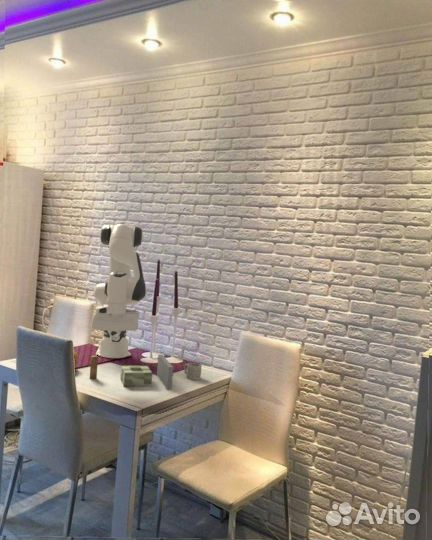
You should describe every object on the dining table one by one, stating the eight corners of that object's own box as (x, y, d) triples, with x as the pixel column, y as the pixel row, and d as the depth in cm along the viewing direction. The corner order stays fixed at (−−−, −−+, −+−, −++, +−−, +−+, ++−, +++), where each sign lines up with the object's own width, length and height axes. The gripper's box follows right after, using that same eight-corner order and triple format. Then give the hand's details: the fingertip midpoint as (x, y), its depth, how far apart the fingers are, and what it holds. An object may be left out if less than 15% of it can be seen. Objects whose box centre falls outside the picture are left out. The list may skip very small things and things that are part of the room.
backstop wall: (156, 375, 231) (158, 354, 231) (160, 375, 232) (162, 354, 231) (167, 389, 210) (168, 367, 210) (171, 389, 211) (173, 367, 211)
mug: (203, 379, 232) (204, 365, 231) (193, 381, 227) (194, 367, 226) (189, 373, 238) (190, 360, 238) (179, 375, 234) (180, 362, 233)
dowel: (89, 377, 219) (90, 355, 218) (96, 377, 220) (97, 355, 219) (89, 379, 216) (91, 357, 215) (96, 379, 217) (98, 357, 216)
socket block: (120, 378, 221) (121, 365, 220) (146, 378, 225) (147, 365, 224) (123, 386, 209) (124, 373, 209) (151, 386, 213) (152, 373, 213)
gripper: (138, 308, 218) (136, 338, 219) (91, 306, 211) (89, 338, 212) (140, 310, 212) (138, 342, 213) (92, 309, 205) (90, 341, 206)
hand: (113, 340), depth 212 cm, fingers closed
